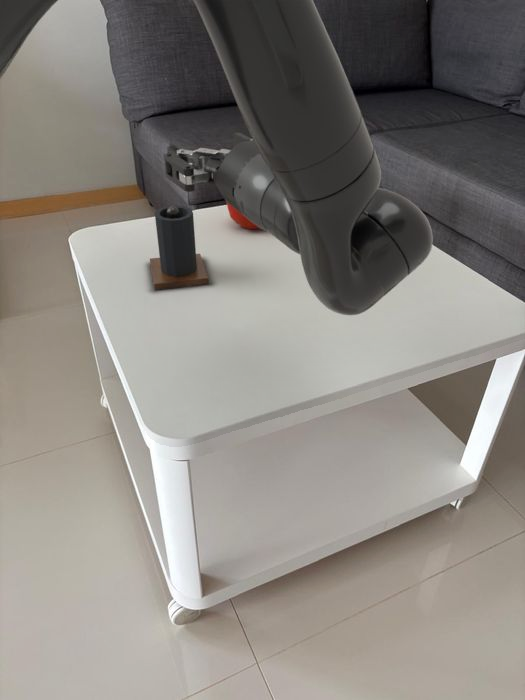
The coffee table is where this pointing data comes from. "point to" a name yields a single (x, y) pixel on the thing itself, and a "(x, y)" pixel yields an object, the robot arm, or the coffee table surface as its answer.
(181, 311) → the coffee table surface
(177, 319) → the coffee table surface
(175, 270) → the sleeve
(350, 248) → the robot arm
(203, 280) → the stand
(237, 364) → the coffee table surface
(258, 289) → the coffee table surface
